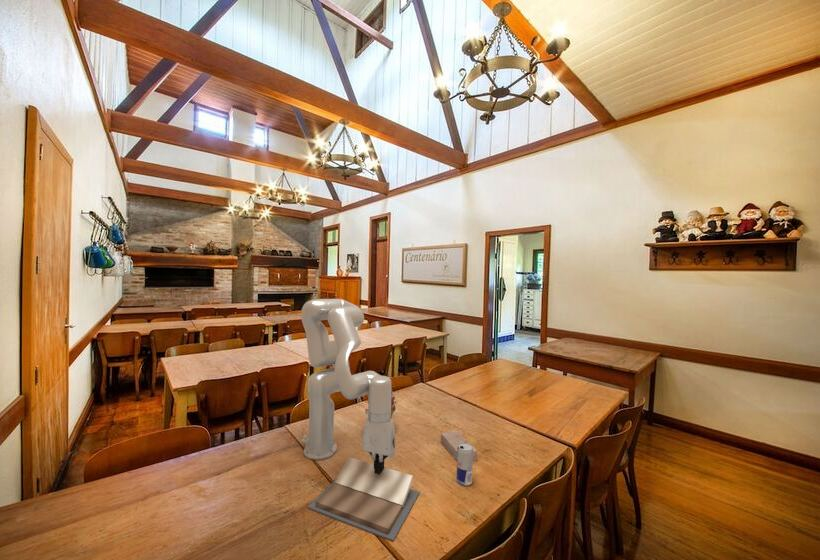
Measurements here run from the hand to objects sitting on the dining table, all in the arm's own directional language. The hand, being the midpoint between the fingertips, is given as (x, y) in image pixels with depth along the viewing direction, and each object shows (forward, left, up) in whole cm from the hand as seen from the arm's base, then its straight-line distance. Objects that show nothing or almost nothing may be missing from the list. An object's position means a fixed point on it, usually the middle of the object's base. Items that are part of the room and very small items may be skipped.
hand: (378, 471), depth 99 cm
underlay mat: (-1, -6, -6) cm, 8 cm away
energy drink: (+25, +16, -6) cm, 30 cm away
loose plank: (-1, -1, -3) cm, 3 cm away
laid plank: (-1, -11, -6) cm, 12 cm away
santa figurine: (-17, +34, -6) cm, 38 cm away
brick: (+19, +34, -6) cm, 39 cm away
